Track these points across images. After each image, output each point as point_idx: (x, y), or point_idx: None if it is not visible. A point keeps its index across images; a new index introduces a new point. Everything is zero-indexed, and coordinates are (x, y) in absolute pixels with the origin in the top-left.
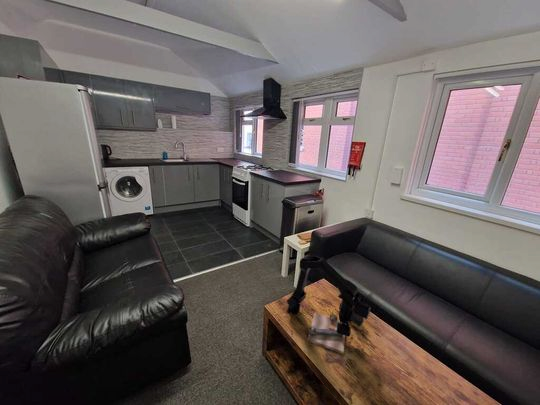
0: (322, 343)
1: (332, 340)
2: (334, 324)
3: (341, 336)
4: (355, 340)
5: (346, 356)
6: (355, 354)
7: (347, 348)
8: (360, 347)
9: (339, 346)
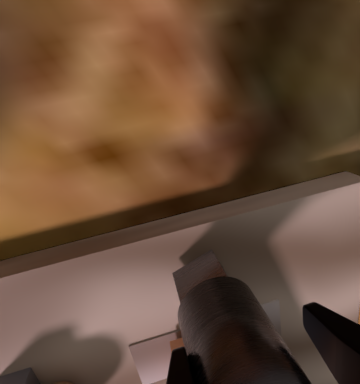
0: None
1: (292, 298)
2: (90, 363)
3: (219, 262)
4: (113, 102)
5: (356, 138)
6: (301, 59)
7: (270, 154)
8: (178, 17)
9: (329, 230)
